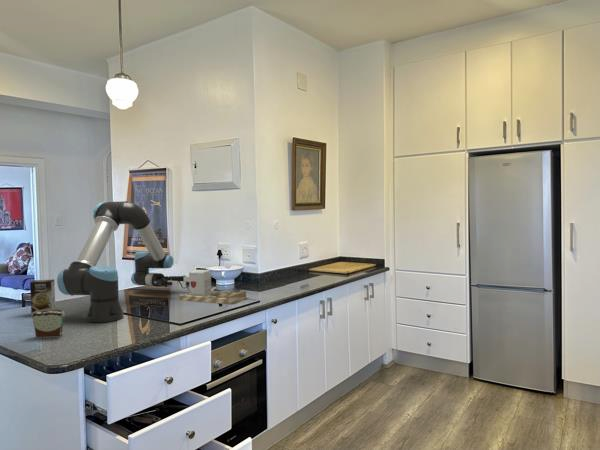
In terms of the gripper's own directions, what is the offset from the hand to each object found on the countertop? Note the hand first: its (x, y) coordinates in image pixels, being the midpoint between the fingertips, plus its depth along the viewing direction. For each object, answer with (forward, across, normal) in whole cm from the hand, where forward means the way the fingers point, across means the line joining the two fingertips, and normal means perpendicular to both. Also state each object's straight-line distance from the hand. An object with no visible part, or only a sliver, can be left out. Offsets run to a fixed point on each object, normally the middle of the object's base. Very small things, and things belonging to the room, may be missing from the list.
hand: (185, 281), depth 244 cm
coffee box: (-41, +54, -9) cm, 69 cm away
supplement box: (+10, 0, -9) cm, 13 cm away
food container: (-4, +78, -9) cm, 78 cm away
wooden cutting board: (+18, -2, -8) cm, 20 cm away
